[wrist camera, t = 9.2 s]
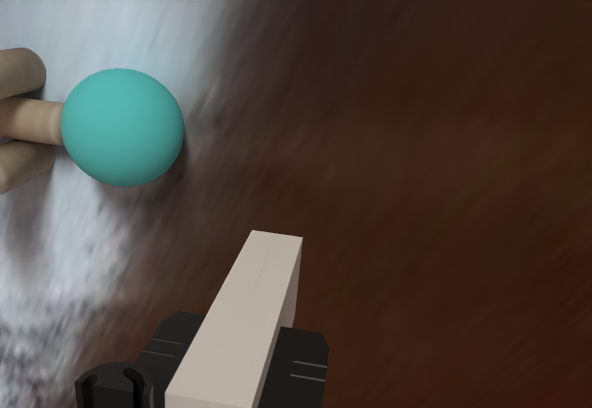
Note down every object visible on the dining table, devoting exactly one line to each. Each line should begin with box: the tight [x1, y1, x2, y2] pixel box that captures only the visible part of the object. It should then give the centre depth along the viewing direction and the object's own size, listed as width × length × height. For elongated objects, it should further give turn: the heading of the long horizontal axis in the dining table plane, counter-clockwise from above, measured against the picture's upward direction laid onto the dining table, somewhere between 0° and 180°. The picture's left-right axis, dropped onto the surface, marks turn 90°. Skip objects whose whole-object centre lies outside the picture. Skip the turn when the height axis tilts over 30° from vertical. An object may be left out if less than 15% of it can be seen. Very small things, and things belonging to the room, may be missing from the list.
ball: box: [61, 68, 184, 186], centre depth 25 cm, size 6×6×6 cm
